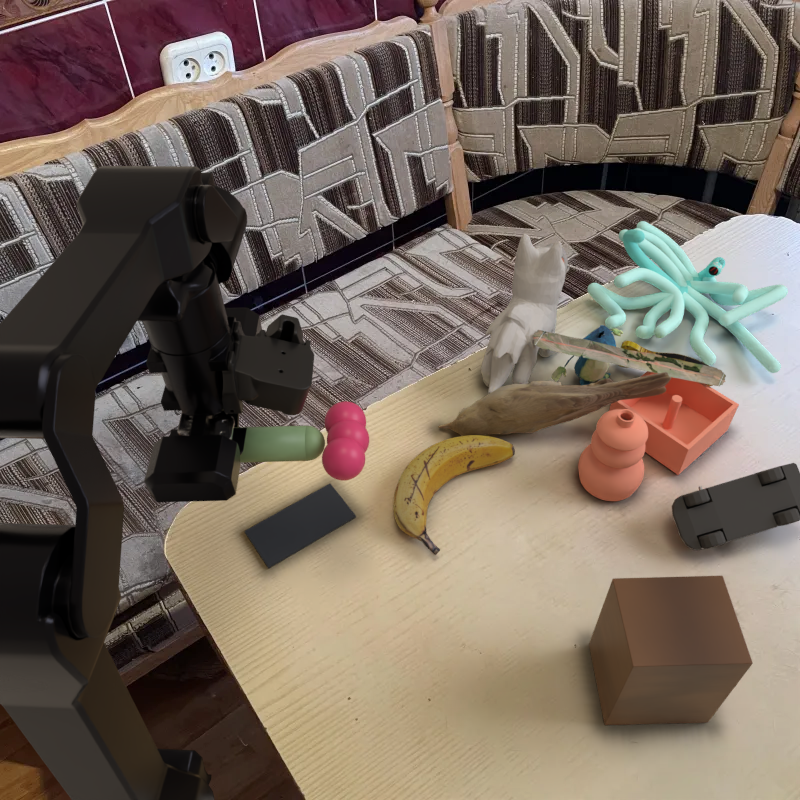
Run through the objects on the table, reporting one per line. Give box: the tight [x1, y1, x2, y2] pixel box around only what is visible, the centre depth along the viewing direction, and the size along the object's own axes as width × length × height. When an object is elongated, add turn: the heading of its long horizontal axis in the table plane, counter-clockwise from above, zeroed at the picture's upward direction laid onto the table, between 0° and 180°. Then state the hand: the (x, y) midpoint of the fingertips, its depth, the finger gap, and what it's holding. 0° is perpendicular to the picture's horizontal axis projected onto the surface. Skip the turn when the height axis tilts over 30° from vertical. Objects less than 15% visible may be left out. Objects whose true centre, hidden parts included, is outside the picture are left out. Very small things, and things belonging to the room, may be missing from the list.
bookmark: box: [533, 330, 727, 387], centre depth 82 cm, size 3×21×1 cm, turn 81°
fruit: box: [392, 435, 516, 556], centre depth 77 cm, size 15×9×3 cm, turn 135°
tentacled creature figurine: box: [587, 220, 789, 374], centre depth 93 cm, size 25×14×18 cm
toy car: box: [671, 462, 800, 551], centre depth 73 cm, size 6×13×5 cm
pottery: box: [577, 371, 740, 502], centre depth 78 cm, size 18×10×10 cm, turn 131°
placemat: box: [244, 482, 357, 569], centre depth 76 cm, size 10×5×1 cm, turn 125°
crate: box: [588, 575, 754, 726], centre depth 60 cm, size 8×7×12 cm
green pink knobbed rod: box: [234, 400, 370, 482], centre depth 64 cm, size 15×8×4 cm, turn 91°
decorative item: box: [618, 340, 714, 387], centre depth 86 cm, size 11×1×5 cm, turn 68°
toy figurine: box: [551, 324, 624, 386], centre depth 86 cm, size 12×4×8 cm, turn 131°
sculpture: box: [438, 372, 671, 436], centre depth 80 cm, size 6×25×5 cm
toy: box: [480, 233, 571, 395], centre depth 85 cm, size 6×19×15 cm, turn 150°
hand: (229, 462), depth 66 cm, fingers closed on green pink knobbed rod, 3 cm apart
